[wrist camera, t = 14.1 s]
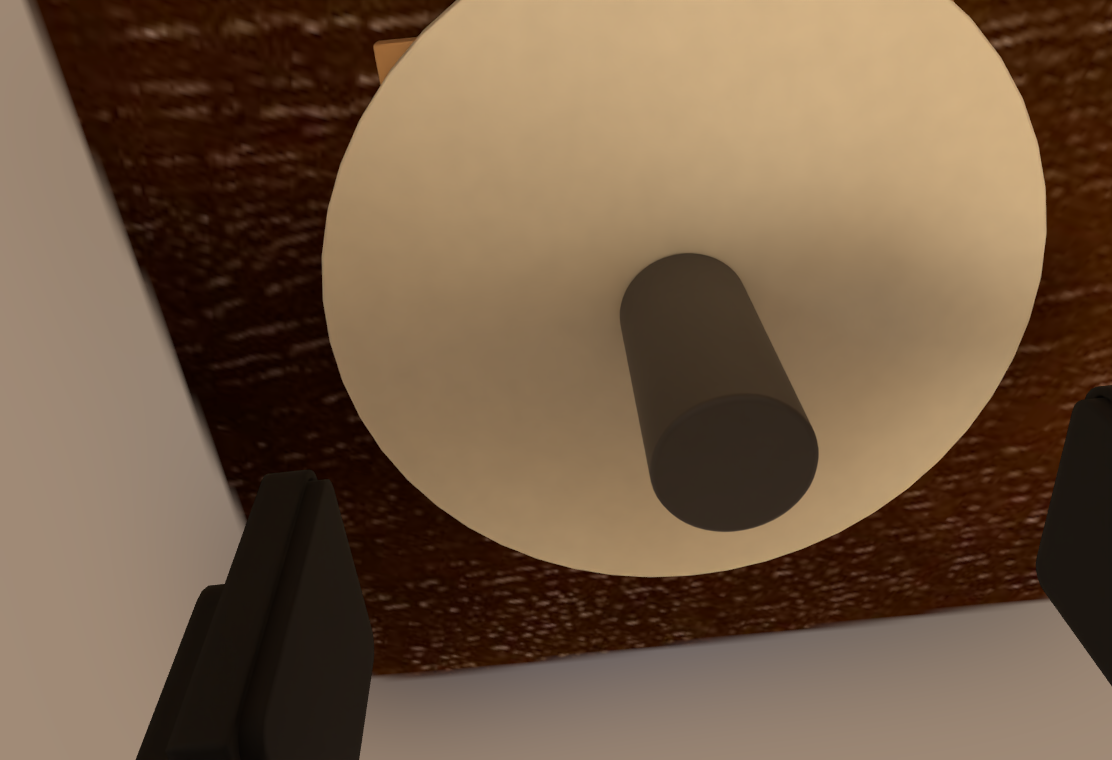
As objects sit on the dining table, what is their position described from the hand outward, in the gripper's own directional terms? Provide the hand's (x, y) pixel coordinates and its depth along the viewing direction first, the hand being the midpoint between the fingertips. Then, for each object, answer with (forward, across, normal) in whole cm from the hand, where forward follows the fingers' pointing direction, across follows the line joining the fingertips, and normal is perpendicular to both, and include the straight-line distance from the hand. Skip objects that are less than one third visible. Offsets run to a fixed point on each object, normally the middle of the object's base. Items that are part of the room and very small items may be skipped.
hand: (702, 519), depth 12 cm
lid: (+7, -1, 0) cm, 7 cm away
